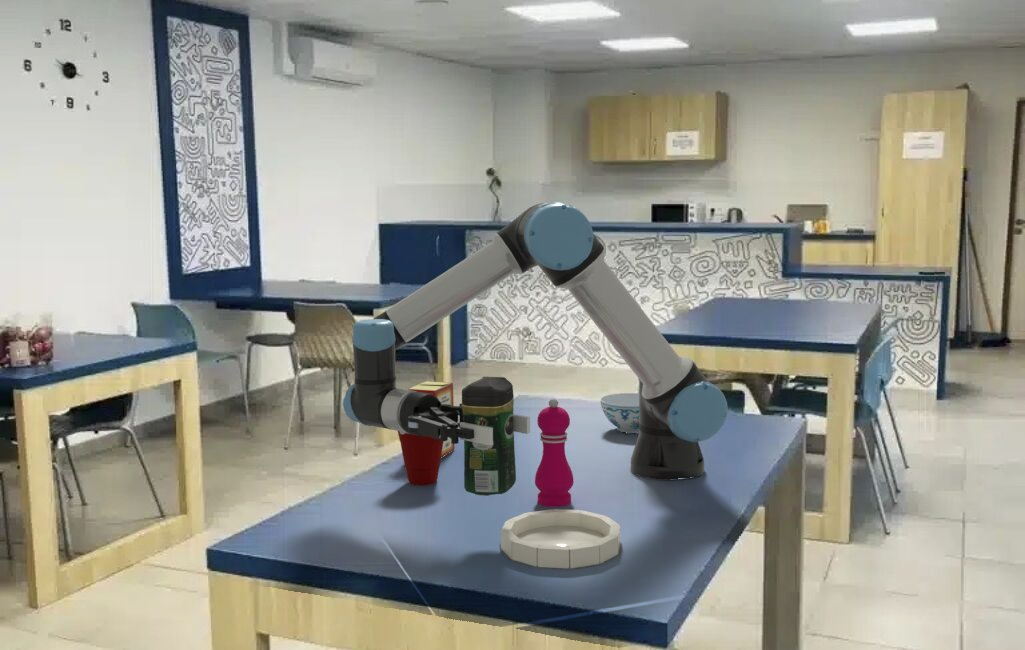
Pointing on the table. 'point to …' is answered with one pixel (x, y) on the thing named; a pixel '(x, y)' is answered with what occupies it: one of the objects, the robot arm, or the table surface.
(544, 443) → the pepper mill
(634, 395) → the chinaware
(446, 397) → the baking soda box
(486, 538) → the table surface
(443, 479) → the table surface
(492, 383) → the coffee jar
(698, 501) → the table surface
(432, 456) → the plastic cup
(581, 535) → the bowl
